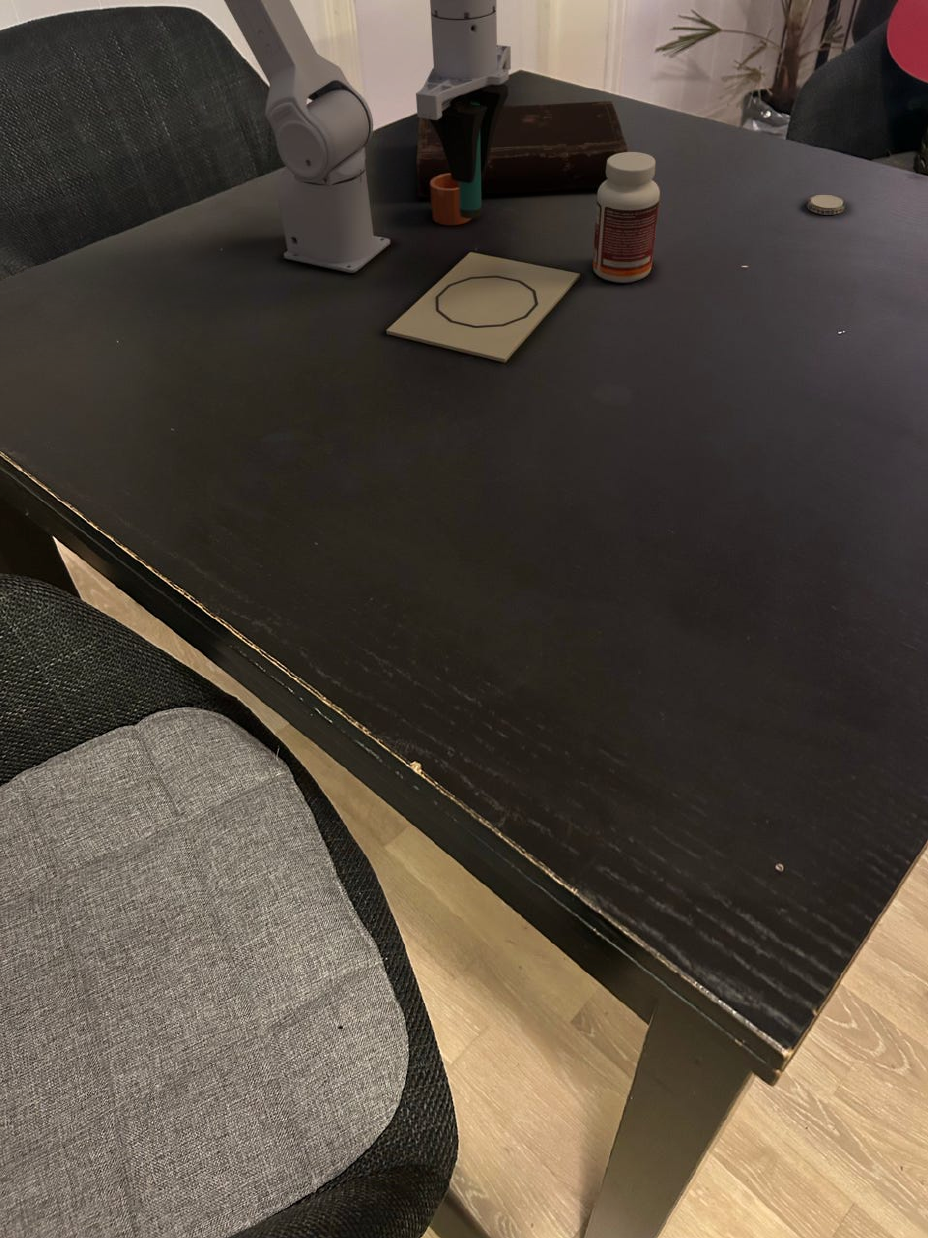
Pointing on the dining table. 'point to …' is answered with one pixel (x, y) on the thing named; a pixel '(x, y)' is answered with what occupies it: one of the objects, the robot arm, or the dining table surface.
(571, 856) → the dining table surface
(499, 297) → the sketch pad
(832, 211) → the beige bottle cap
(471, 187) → the marker
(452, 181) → the pen cup
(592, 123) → the diary
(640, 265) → the pill bottle
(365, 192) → the robot arm
